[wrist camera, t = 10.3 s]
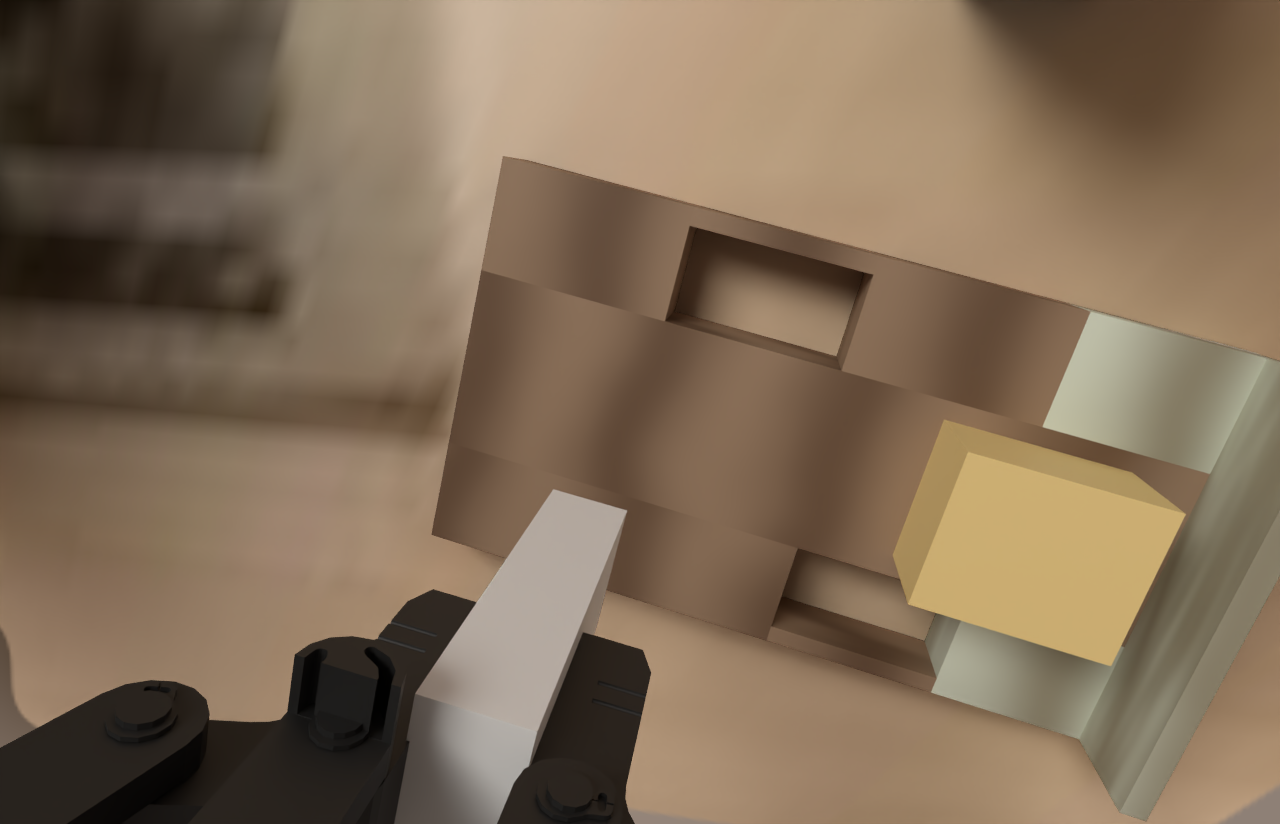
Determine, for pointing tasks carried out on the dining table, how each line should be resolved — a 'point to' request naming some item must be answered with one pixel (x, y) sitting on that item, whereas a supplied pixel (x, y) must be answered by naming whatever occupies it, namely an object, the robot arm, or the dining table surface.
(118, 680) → the dining table surface
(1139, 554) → the ochre block
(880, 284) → the board
